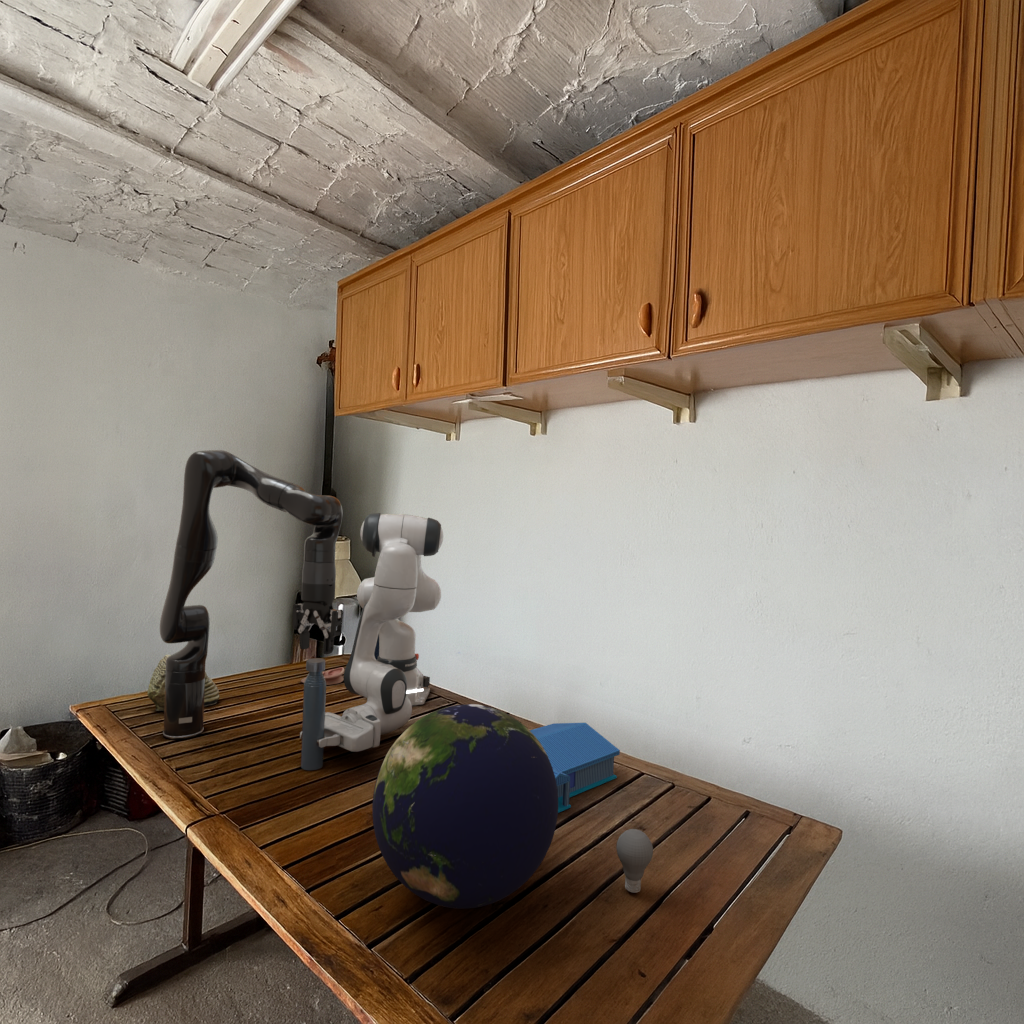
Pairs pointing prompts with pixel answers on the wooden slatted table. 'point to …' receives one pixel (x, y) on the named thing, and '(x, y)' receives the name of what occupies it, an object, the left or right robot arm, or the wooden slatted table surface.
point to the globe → (465, 806)
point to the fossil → (158, 687)
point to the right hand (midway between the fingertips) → (309, 739)
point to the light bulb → (634, 857)
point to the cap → (315, 665)
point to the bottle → (313, 721)
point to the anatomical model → (332, 676)
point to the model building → (576, 758)
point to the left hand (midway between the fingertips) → (316, 651)
